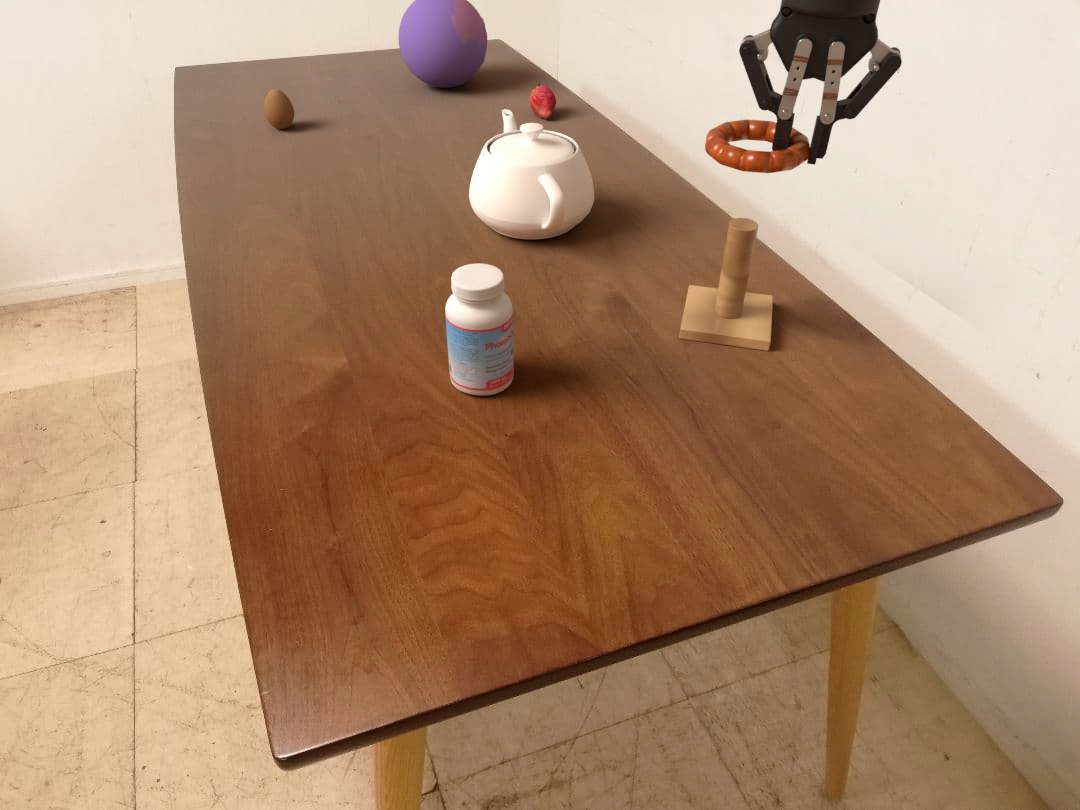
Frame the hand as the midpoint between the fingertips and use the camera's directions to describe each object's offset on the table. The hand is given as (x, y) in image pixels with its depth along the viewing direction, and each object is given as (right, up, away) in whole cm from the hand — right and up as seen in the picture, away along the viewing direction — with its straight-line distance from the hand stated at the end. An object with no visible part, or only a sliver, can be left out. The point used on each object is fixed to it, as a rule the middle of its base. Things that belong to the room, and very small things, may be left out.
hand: (796, 158), depth 74 cm
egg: (-63, +21, +54) cm, 86 cm away
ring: (-3, +1, 0) cm, 4 cm away
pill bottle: (-29, -20, +5) cm, 35 cm away
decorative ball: (-40, +34, +71) cm, 88 cm away
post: (-3, -13, +13) cm, 19 cm away
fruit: (-23, +25, +59) cm, 68 cm away
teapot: (-24, +2, +31) cm, 39 cm away
